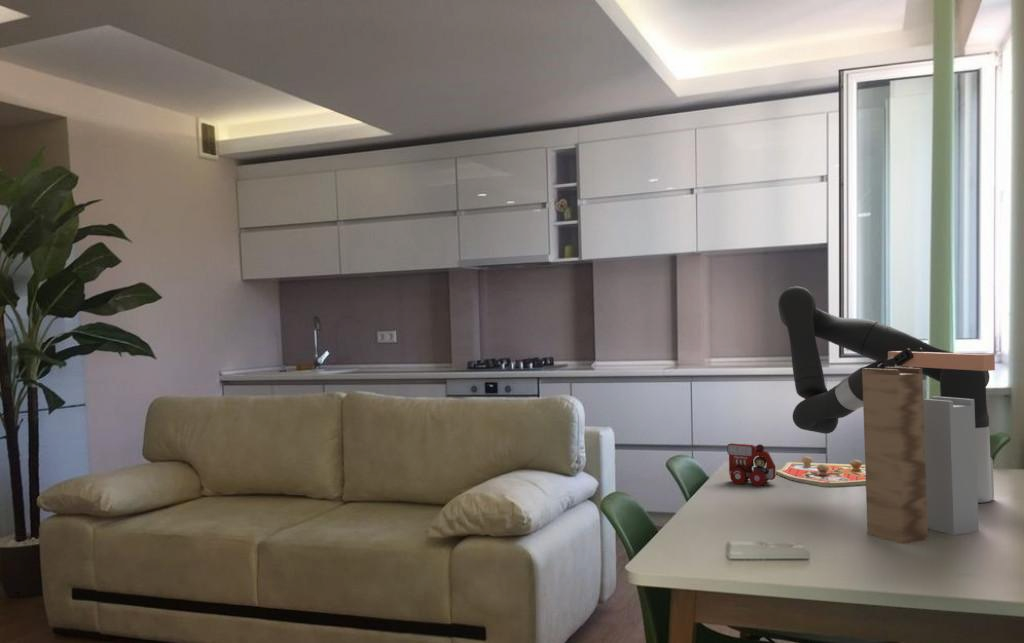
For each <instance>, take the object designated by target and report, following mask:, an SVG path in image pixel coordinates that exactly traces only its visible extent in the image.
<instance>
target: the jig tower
mask: <svg viewBox="0 0 1024 643" xmlns="http://www.w3.org/2000/svg"><path fill="white" fill-rule="evenodd" d="M923 376H924V374H922V368H902V367H884V369H872V368H862V380H863V407H862V408H863V410H862V412H863V434H864V435H863V436H864V438H863V439H864V465H865V472H866V485H865V496H866V500H865V501H866V502H865V503H866V525H867V526H866V527H867V528H866V529H867V532H866V533H867V535H870V536H874V537H878V538H881V539H883V540H884V539H885V540H887V541H891V542H894V543H898V544H901V545H902V544H908V543H913V542H918V541H924V540H928V539H929V534H928V533H929V532H928V531H929V529H928V525H927V495H926V465H925V435H924V405H923V399H924V382H923V381H924V379H923Z"/></svg>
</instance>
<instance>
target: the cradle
mask: <svg viewBox="0 0 1024 643" xmlns="http://www.w3.org/2000/svg"><path fill="white" fill-rule="evenodd" d="M923 405H924V435H925V465H926V495H927V525H928V530H932V531H936V532H940V533H944V534H947V535H950V536H951V535H952V536H957V535H963V533H964V534H968V532H969V533H974V532H973V531H975V532H979V531H978V530H980V529H979V528H980V526H979V507H978V506H979V503H978V493H977V463H976V434H975V404H974V399H964V398H951V397H941V396H938V395H937V396H936V395H933V396H930V398H923Z"/></svg>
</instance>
